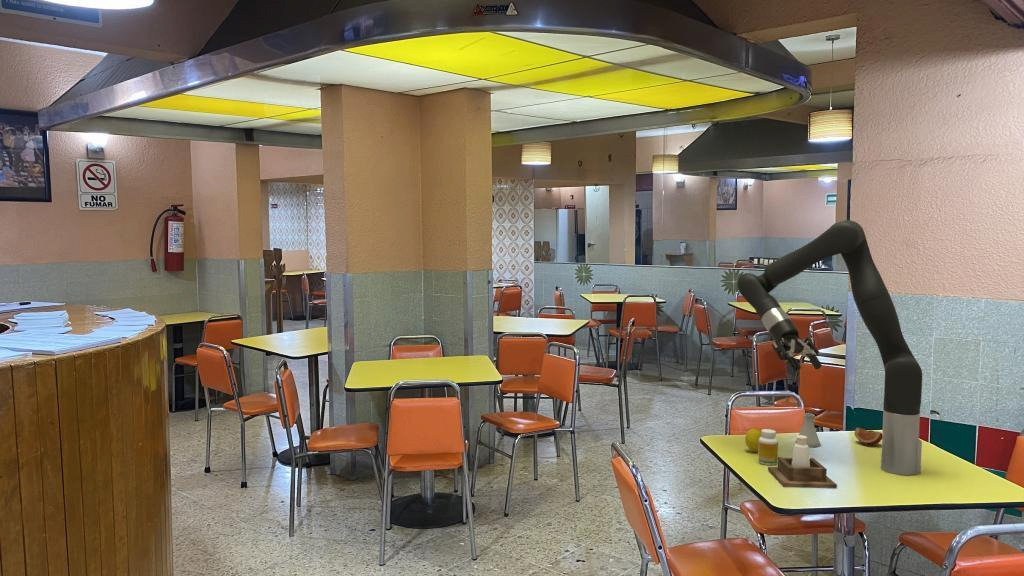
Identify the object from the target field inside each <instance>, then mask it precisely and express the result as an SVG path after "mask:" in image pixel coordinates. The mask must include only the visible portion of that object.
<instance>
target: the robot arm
mask: <svg viewBox="0 0 1024 576" xmlns="http://www.w3.org/2000/svg"><path fill="white" fill-rule="evenodd" d="M839 254H840V256H841V257H842V259H843V261H844V263H845V265H846V268H847V270H848V275H849V282H850V287H851V288H850V289H851V293H852V297H853V300H854V303H855V305H856V308H857V310H858V312H859V316H860V317H861V319H862V321H863V323H864V326H865V327H866V328H867V330H868V332H869V333H870V334H871V337H872V338H873V340H874V341H875V343H876V346H877V348H878V351H879V353H880V354H879V355H880V357H881V361H882V363H883V367H884V392H883V393H884V395H883V406H882V407H883V412H882V432H881V433H882V440H881V455H880V456H881V457H880V458H881V460H880V468H881V469H882V470H883V471H885V472H888V473H891V474H894V475H895V474H896V475H901V476H903V475H904V476H913V475H917V474H921V472H922V448H923V441H922V440H921V439H919V438H920V418H921V405H922V393H923V391H922V388H923V371H922V368H921V366H920V364H919V362H918V360H917V359H916V357H915V356H914V355H913V353H912V351H911V349H910V347H909V345H908V343H907V342H906V339H905V337H904V335H903V331H902V328H901V325H900V320H899V317H898V314H897V309H896V307H895V304H894V301H893V299H892V297H891V294H890V293H889V290H888V288H887V286H886V284H885V282H884V279H883V278H882V275H881V273H880V271H879V270H878V268H877V266H876V263H875V262H874V259H873V257H872V253H871V250H870V246H869V243H868V241H867V238H866V234H865V230H864V229H863V227H862V225H860V224H859V223H858V222H856V221H854V220H851V219H850V220H849V219H847V220H841V221H838V222H837V221H836V222H835V223H833V224H832V225H831V226H830V227H829V228H828V229H826V230H825V231H824V232H823V233H821V234H820V235H819V236H817V237H816V238H814V239H813V240H811V241H810V242H808V243H807V244H805V245H803V246H801V247H799V248H798V249H795V250H794V251H791V252H789V253H788V254H785V255H783V256H782V257H780V258H778V259H776V260H774V261H772V262H770V263H769V264H767V265H766V266H765V267H764V272H763V273H762V274H760V275H756V274H755V273H751V272H746V273H742V274H741V275H740V276H739V277H738V279H737V281H736V286H737V290H738V291H739V294H740V296H741V297H743V298H744V299H745V301H747V303H748V304H749V305H750V306H751V307H752V308H753V309H754V310H755V312H756V314H757V315H758V317H759V318H760V320H761V322H762V323H763V325H764V327H765V329H766V331H767V332H768V334H769V335H770V336H771V338H772V340H773V341H774V342H773V343H772V344H771V347H772V348H773V350H774V352H775V354H776V355H777V357H778V359H779V360H780V361H785V362H787V363H789V366H790V367H791V369H792V370H793V371H794V372H795V373H796V372H799V371H800V370H801V369H802V366H801V365H800V363H799V361H798V360H797V359H796V356H795V357H794V355H800V356H801V357H805V358H807V359H808V360H809V361H810V363H811V365H812V366H813V368H814V369H815V370H819V369H821V367H822V366H823V365H822V361H820V359H819V358H818V356H817V355H818V354H820V350H819V349H818V348H817V347H816V345H815V344H814V342H813V341H812V340H811V339H810V338H809V337H808V336H806V337H805V338H803V339H802V338H801V337H800V336H799V329H798V327H797V326H796V325H795V324H794V322H793V320H792V319H791V318H790V316H789V315H788V313H787V312H786V311H785V310H784V309H783V308H782V306H781V305H780V304H779V302H778V300H777V299H776V298H775V296H773V295H771V294H770V293H771V292H772V291H773V290H774V289H776V288H777V287H778V286H779V285H780V284H782V283H784V282H786V281H788V280H791V279H792V278H795V277H796V276H798V275H799V274H801V273H803V272H804V271H806V270H807V269H808V268H810V267H812V266H813V265H815V264H817V263H819V262H821V261H823V260H825V259H828V258H830V257H833V256H837V255H839Z"/></svg>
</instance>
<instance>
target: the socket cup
mask: <svg viewBox="0 0 1024 576" xmlns="http://www.w3.org/2000/svg"><path fill="white" fill-rule="evenodd" d="M792 458H793V456H792V457H787V456H778V458H777V466H767V471H768V472H769V473H770V474H771V475H772V477H773V478H775V479H776V481H777V480H778V481H779V482H780V483H779V482H778V481H777V482H778V483H779V484H780V485H781V486H782V487H783V488H814V489H819V488H820V489H837V488H838V484H837V483H836V482H835V481H834V480H833V479H831V478H830V477H829V476H828V475H827V474H828V473H827V471H828V469H827V468H826V467H825V466H824V465H822V464H821V463H820V462H819V461H818V460H816V458H814V457H809V458H810V467H792V466H791V465H792Z"/></svg>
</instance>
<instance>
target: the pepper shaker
mask: <svg viewBox="0 0 1024 576" xmlns="http://www.w3.org/2000/svg"><path fill="white" fill-rule="evenodd" d="M795 437H796V440H797V443H795V444H794V445H793V450H792V451H793V452H792V465H791V466H792V467H810V458H811V457H810V449H809V448H810V447H808V445H806V444H807V437H806V436H803V435H799V434H798V435H796V436H795Z"/></svg>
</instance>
